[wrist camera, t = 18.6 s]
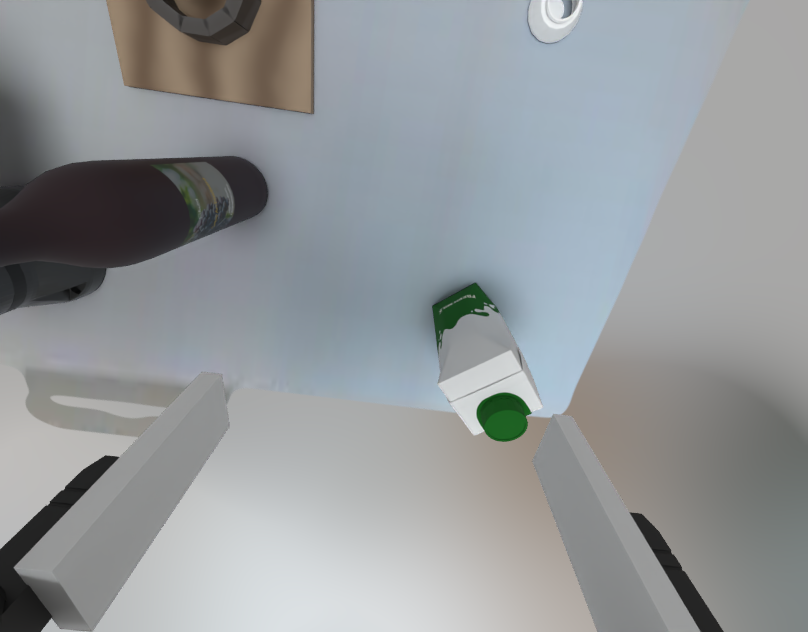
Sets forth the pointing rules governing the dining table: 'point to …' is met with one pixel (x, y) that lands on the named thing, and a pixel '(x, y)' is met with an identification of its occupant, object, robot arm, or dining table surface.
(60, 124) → the dining table surface
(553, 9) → the lidless jar
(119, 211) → the wine bottle
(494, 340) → the milk carton
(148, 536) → the robot arm
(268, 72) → the lamp holder
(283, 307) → the dining table surface
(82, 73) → the dining table surface
